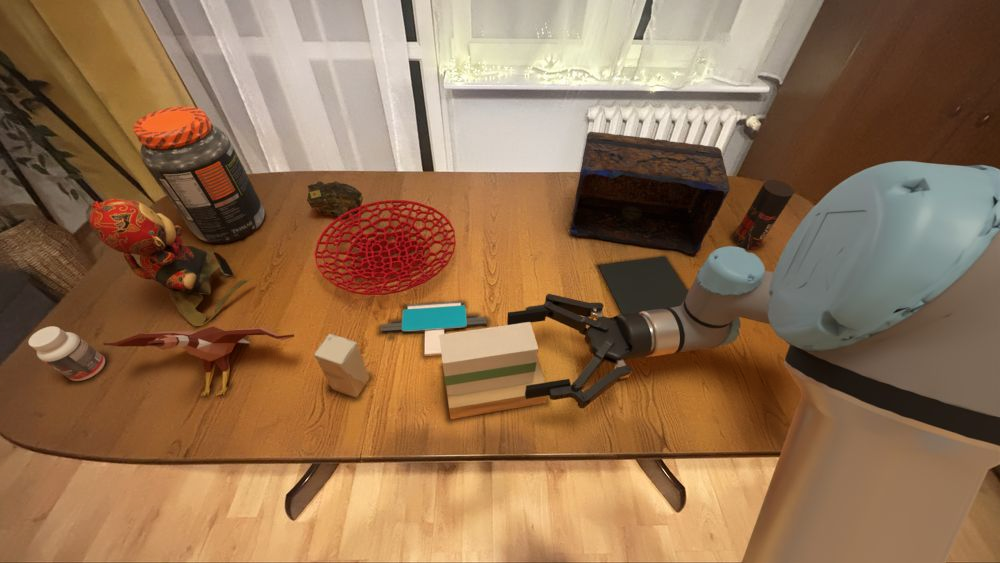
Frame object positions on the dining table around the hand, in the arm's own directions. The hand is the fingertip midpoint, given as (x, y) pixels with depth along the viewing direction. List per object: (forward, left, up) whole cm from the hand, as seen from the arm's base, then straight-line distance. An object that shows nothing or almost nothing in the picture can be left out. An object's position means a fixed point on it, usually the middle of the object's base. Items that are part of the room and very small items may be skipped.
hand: (516, 353), depth 65 cm
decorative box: (+37, -38, -10) cm, 54 cm away
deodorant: (+27, -63, -10) cm, 69 cm away
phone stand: (+14, +12, -10) cm, 21 cm away
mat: (+15, -33, -10) cm, 37 cm away
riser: (0, +3, -10) cm, 10 cm away
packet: (0, +4, -1) cm, 4 cm away
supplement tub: (+53, +57, -10) cm, 79 cm away
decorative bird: (+12, +49, -10) cm, 51 cm away
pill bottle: (+16, +72, -10) cm, 75 cm away
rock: (+54, +32, -10) cm, 64 cm away
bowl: (+35, +20, -10) cm, 42 cm away
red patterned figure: (+30, +57, -10) cm, 65 cm away
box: (+5, +27, -10) cm, 30 cm away
